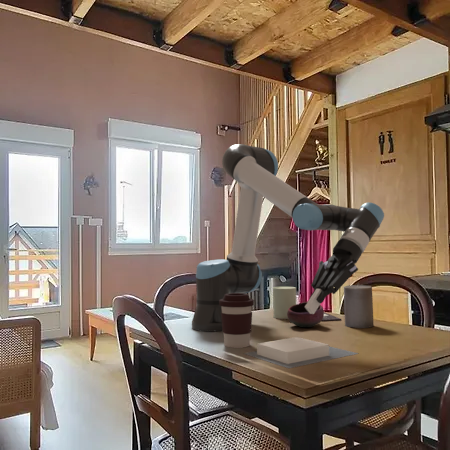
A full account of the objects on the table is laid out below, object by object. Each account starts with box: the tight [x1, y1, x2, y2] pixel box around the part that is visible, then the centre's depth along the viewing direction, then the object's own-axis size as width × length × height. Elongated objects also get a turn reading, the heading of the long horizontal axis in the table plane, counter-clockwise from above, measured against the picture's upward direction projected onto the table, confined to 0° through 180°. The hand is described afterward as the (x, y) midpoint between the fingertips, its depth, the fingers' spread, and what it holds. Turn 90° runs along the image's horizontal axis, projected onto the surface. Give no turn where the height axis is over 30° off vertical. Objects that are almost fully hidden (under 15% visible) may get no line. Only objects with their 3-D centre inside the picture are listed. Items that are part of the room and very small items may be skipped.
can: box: [272, 286, 297, 320], centre depth 187 cm, size 9×9×12 cm
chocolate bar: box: [321, 312, 342, 322], centre depth 186 cm, size 9×1×18 cm
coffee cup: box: [219, 293, 255, 349], centre depth 136 cm, size 10×10×15 cm
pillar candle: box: [343, 282, 374, 329], centre depth 167 cm, size 10×10×15 cm
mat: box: [243, 345, 359, 369], centre depth 125 cm, size 18×24×1 cm
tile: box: [256, 336, 330, 364], centre depth 123 cm, size 12×3×14 cm
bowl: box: [287, 300, 325, 328], centre depth 168 cm, size 16×13×8 cm
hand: (309, 310), depth 127 cm, fingers closed
